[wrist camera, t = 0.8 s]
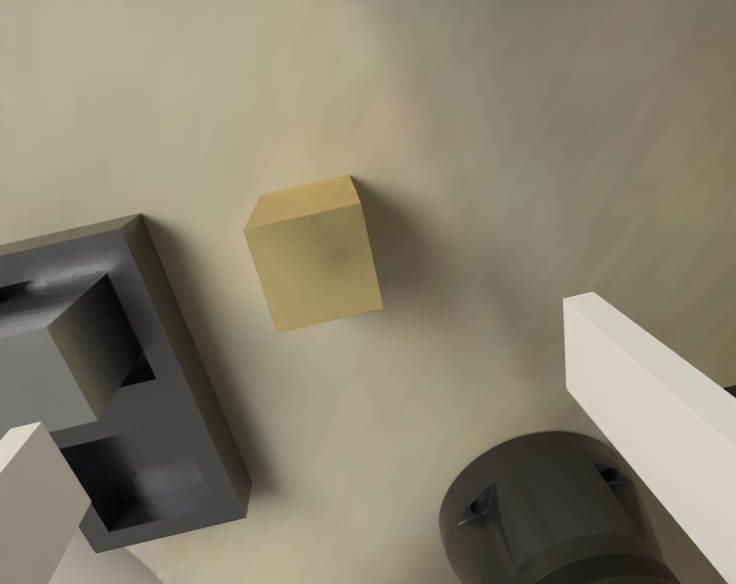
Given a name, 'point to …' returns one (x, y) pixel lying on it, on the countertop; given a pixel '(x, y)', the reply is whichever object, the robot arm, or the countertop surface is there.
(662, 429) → the robot arm
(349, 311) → the yellow block
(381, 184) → the countertop surface
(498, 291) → the countertop surface
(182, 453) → the dark grey tray
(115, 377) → the grey block
